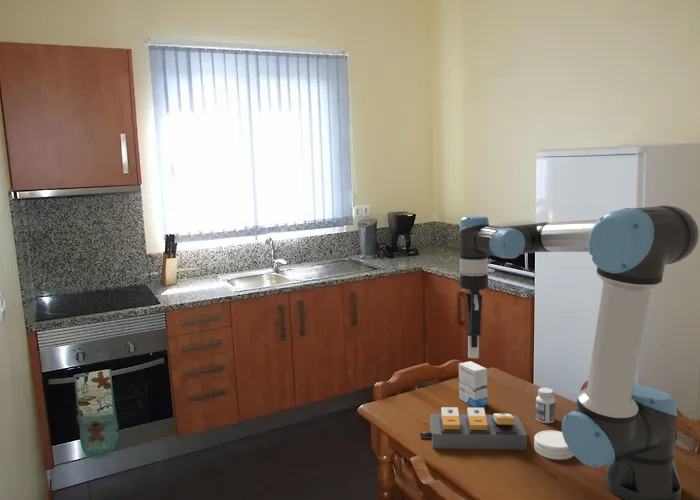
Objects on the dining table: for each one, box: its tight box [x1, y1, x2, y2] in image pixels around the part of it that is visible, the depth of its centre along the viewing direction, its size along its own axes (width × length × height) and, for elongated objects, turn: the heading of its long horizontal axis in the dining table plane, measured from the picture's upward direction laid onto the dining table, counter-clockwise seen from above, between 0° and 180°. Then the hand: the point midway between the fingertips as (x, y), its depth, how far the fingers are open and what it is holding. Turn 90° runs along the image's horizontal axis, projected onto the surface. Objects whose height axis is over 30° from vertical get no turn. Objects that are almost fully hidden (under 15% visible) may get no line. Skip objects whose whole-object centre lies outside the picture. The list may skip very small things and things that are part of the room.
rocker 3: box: [492, 413, 515, 425], centre depth 154 cm, size 7×4×2 cm, turn 175°
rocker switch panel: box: [419, 413, 528, 451], centre depth 156 cm, size 12×27×5 cm, turn 85°
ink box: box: [458, 360, 488, 408], centre depth 179 cm, size 9×5×12 cm, turn 25°
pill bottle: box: [535, 387, 556, 424], centre depth 166 cm, size 5×5×9 cm
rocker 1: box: [440, 406, 460, 430], centre depth 155 cm, size 7×4×2 cm, turn 175°
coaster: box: [533, 430, 575, 461], centre depth 149 cm, size 10×10×4 cm
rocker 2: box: [466, 407, 488, 430], centre depth 154 cm, size 7×4×2 cm, turn 175°
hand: (473, 357), depth 161 cm, fingers closed
